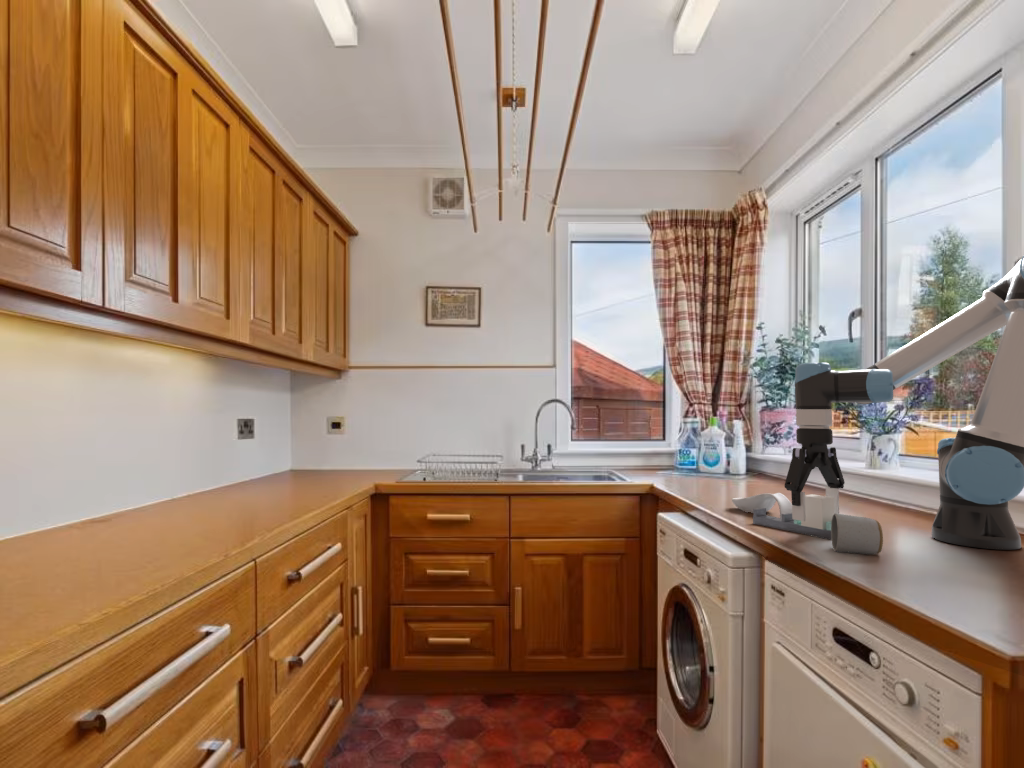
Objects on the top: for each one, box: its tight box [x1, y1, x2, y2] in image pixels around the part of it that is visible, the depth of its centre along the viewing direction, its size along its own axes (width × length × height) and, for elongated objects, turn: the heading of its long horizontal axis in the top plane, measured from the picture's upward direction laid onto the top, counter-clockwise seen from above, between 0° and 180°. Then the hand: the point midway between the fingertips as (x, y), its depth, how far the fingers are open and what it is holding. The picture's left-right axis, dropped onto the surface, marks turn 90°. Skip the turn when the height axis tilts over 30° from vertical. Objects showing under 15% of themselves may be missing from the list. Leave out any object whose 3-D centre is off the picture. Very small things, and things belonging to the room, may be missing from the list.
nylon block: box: [801, 493, 834, 529], centre depth 125 cm, size 5×5×7 cm
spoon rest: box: [731, 492, 792, 518], centre depth 151 cm, size 24×12×7 cm, turn 6°
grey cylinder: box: [831, 513, 884, 555], centre depth 111 cm, size 11×8×8 cm
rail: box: [752, 508, 832, 540], centre depth 130 cm, size 20×4×4 cm, turn 29°
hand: (816, 517), depth 125 cm, fingers open, 13 cm apart
